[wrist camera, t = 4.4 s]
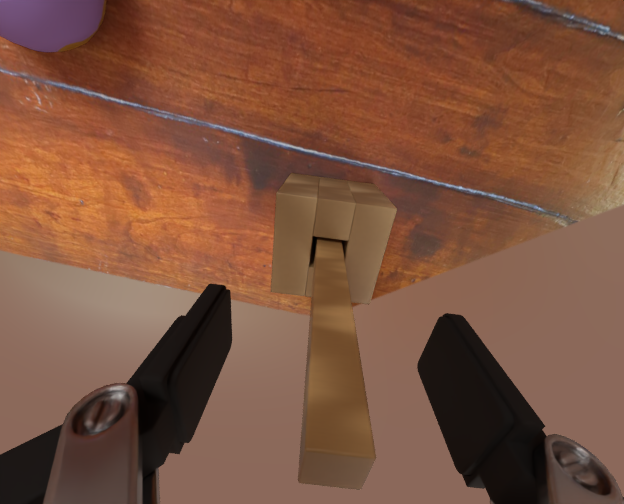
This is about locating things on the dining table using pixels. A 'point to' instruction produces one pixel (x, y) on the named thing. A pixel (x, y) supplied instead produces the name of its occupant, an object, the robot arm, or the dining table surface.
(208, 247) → the dining table surface
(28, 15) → the donut
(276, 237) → the holder
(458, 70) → the dining table surface
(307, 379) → the stick
